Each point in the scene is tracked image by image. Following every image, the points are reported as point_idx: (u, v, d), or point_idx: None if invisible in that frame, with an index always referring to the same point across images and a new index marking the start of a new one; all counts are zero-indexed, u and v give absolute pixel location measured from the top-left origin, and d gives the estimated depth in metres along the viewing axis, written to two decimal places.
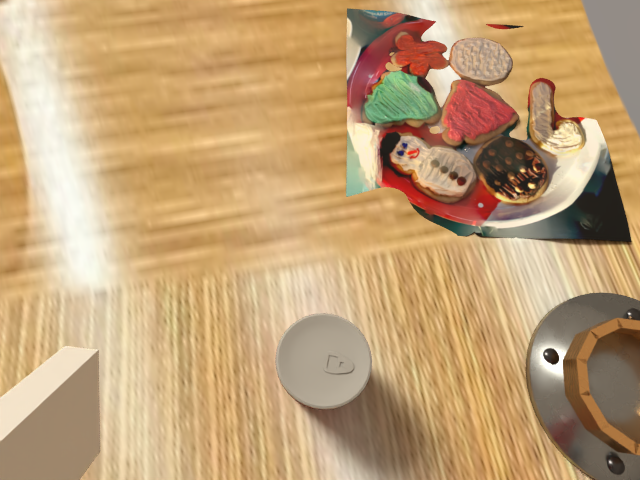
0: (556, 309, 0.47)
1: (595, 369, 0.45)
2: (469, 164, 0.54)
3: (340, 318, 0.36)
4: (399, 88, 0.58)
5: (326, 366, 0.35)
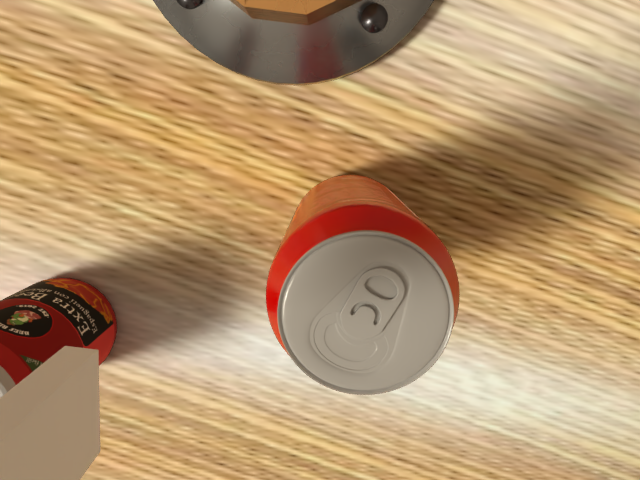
0: None
1: None
2: None
3: None
4: None
5: None
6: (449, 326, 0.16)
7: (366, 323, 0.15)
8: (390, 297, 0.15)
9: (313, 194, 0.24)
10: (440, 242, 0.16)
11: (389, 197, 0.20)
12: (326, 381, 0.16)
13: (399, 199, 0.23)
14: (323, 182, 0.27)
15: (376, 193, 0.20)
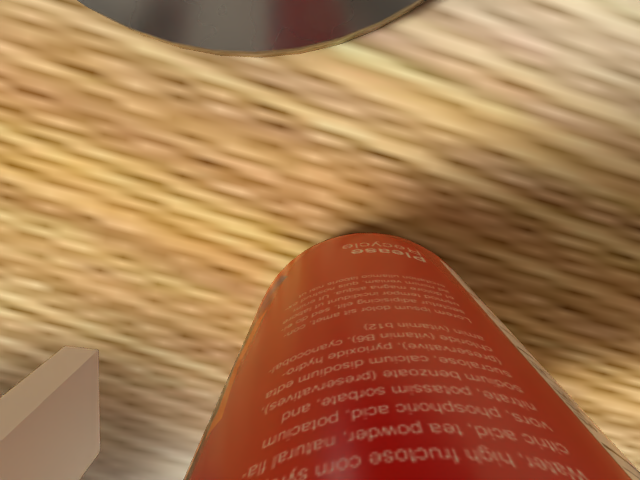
0: None
1: None
2: None
3: None
4: None
5: None
6: None
7: None
8: None
9: (286, 302, 0.10)
10: None
11: (523, 387, 0.06)
12: None
13: (503, 327, 0.09)
14: (313, 253, 0.13)
15: (478, 374, 0.06)
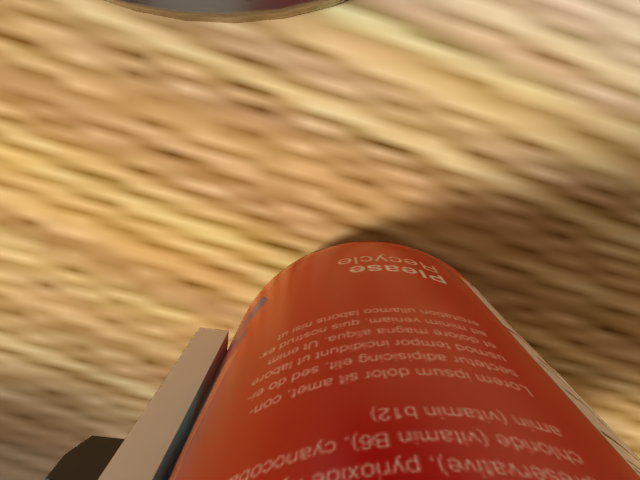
0: None
1: None
2: None
3: None
4: None
5: None
6: None
7: None
8: None
9: (261, 345, 0.07)
10: None
11: None
12: None
13: (566, 387, 0.06)
14: (302, 269, 0.10)
15: None
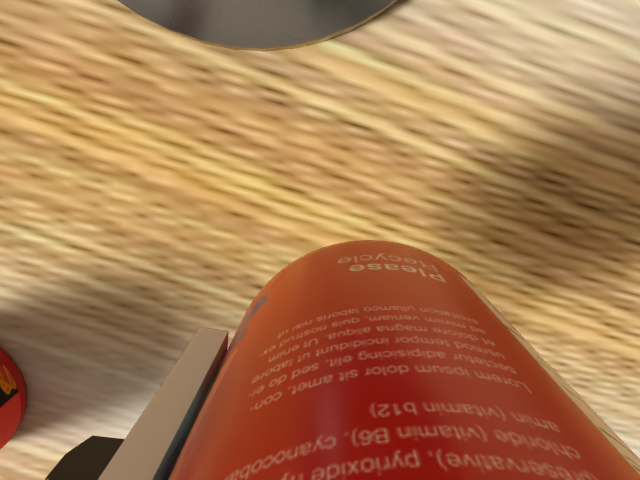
0: None
1: None
2: None
3: None
4: None
5: None
6: None
7: None
8: None
9: (261, 343, 0.07)
10: None
11: None
12: None
13: (564, 385, 0.06)
14: (302, 268, 0.10)
15: None
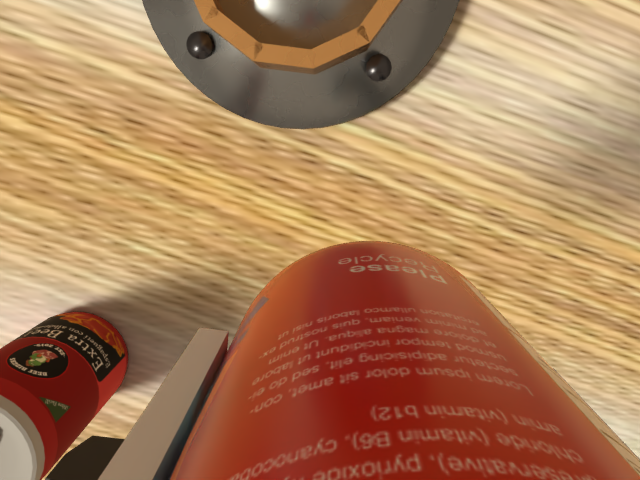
0: None
1: None
2: None
3: None
4: None
5: None
6: None
7: None
8: None
9: (261, 345, 0.07)
10: None
11: None
12: None
13: (566, 387, 0.06)
14: (302, 269, 0.10)
15: None
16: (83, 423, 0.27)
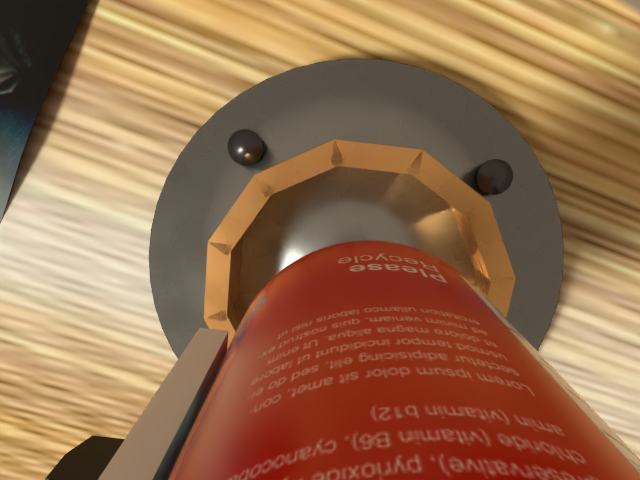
0: (155, 297, 0.21)
1: None
2: None
3: None
4: None
5: None
6: None
7: None
8: None
9: (260, 344, 0.07)
10: None
11: None
12: None
13: (567, 387, 0.06)
14: (302, 268, 0.10)
15: None
16: None
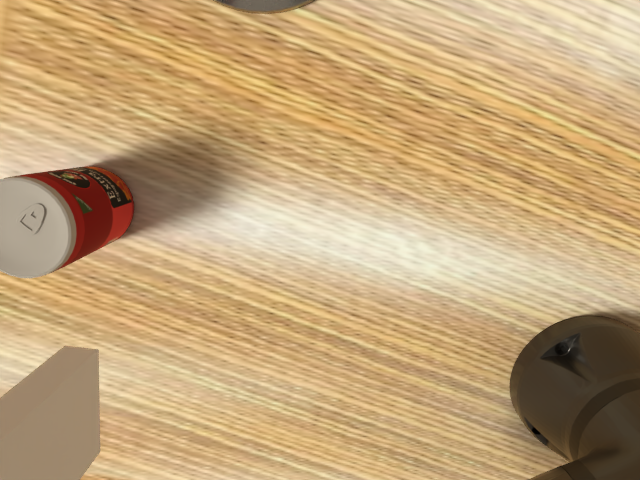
0: None
1: None
2: None
3: None
4: None
5: (30, 230, 0.32)
6: None
7: None
8: None
9: None
10: None
11: None
12: None
13: None
14: None
15: None
16: (101, 231, 0.36)
